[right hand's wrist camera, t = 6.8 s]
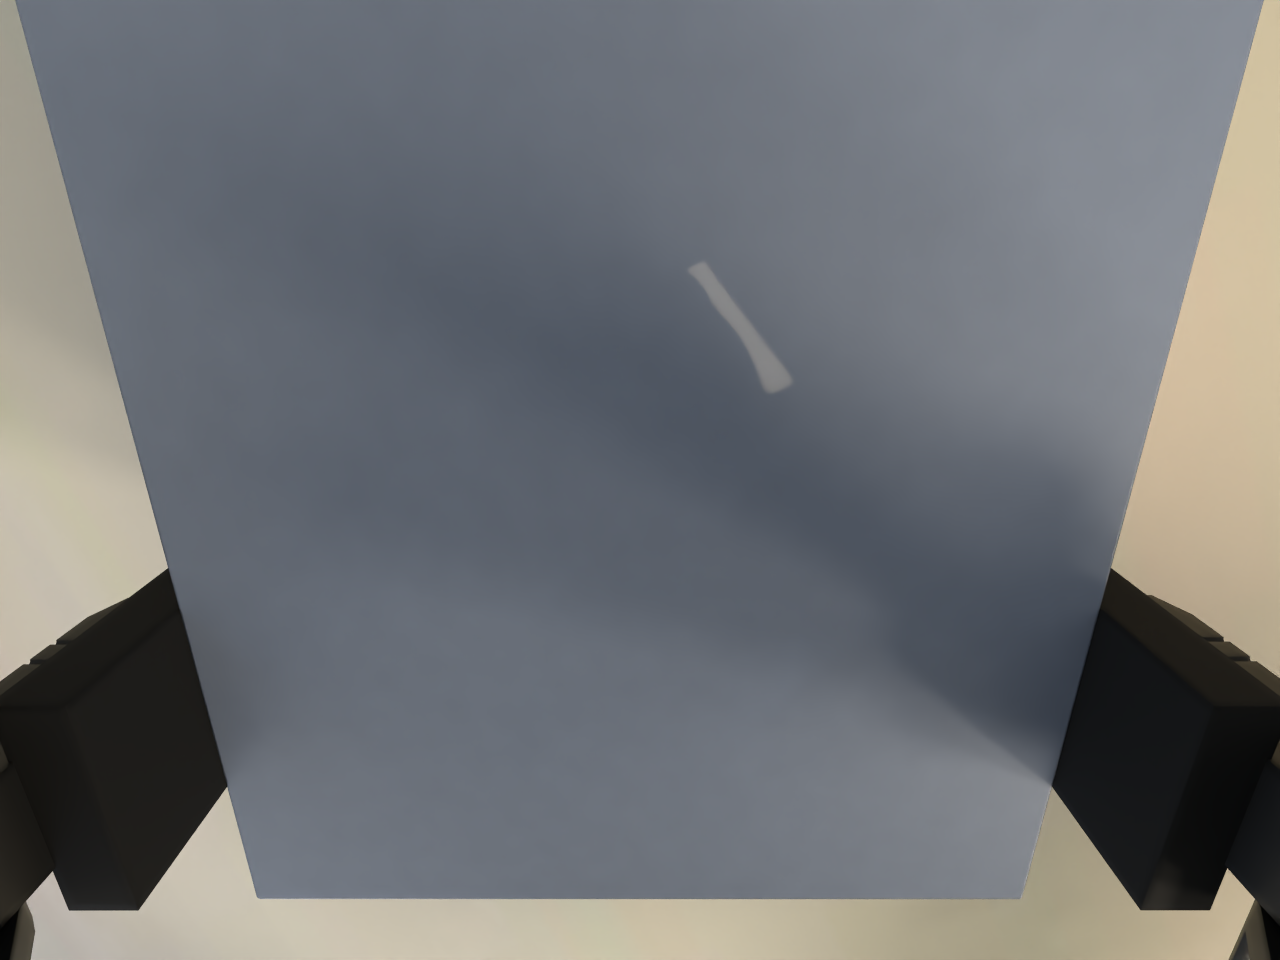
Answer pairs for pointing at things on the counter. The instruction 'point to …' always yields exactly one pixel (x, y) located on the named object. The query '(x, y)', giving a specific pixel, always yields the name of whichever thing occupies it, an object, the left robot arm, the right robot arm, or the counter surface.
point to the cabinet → (639, 413)
